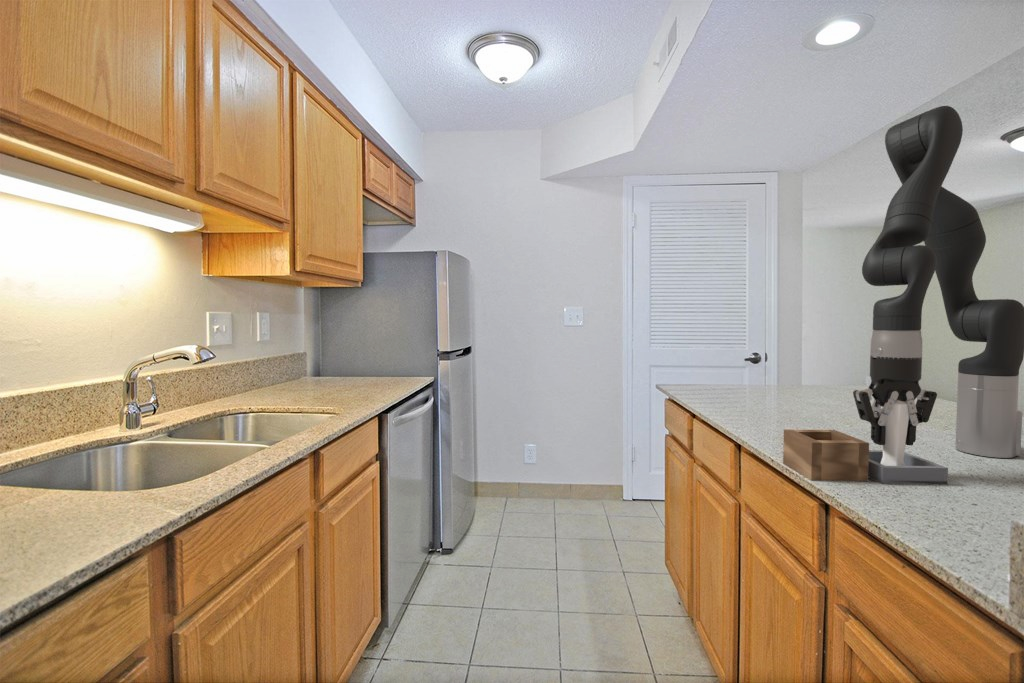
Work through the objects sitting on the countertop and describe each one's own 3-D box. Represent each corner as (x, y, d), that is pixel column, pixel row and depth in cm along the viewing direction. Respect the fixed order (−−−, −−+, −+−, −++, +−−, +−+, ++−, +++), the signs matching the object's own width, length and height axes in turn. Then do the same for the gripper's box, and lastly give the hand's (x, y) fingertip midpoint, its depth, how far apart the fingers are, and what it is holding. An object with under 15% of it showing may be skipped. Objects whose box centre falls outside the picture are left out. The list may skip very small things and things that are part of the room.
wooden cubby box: (833, 463, 95) (834, 429, 95) (868, 480, 85) (869, 443, 85) (783, 463, 96) (783, 429, 95) (811, 480, 86) (812, 442, 85)
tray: (899, 465, 94) (900, 450, 94) (947, 484, 83) (948, 468, 83) (843, 464, 95) (843, 450, 94) (882, 483, 84) (883, 467, 83)
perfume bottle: (883, 468, 87) (886, 389, 87) (873, 461, 92) (875, 385, 91) (913, 470, 86) (916, 390, 85) (901, 463, 90) (903, 386, 89)
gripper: (919, 352, 91) (916, 439, 92) (842, 353, 92) (840, 439, 93) (953, 355, 83) (949, 450, 84) (869, 356, 84) (867, 449, 85)
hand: (892, 443), depth 89 cm, fingers closed on perfume bottle, 4 cm apart
